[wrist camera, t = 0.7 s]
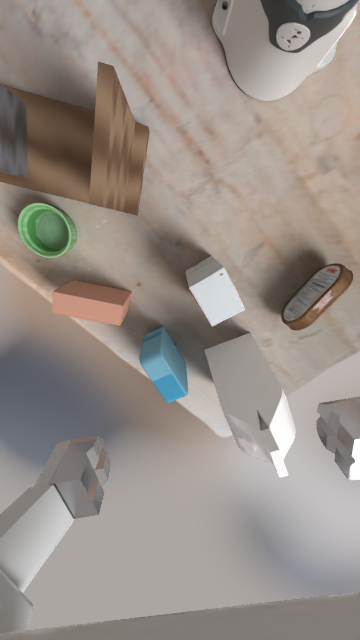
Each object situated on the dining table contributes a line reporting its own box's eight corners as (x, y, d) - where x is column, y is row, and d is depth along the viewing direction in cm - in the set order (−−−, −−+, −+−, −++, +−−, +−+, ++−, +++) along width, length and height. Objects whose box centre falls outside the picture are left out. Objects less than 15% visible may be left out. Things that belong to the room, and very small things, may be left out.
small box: (184, 270, 47) (187, 287, 35) (211, 254, 46) (224, 265, 34) (202, 302, 50) (211, 328, 38) (229, 288, 49) (246, 309, 37)
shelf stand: (-4, 87, 35) (-132, -10, 21) (149, 131, 38) (133, 72, 23) (2, 182, 40) (-98, 158, 25) (137, 215, 43) (118, 210, 28)
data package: (145, 332, 52) (137, 361, 41) (162, 324, 52) (159, 351, 41) (170, 370, 57) (168, 406, 46) (186, 363, 56) (189, 398, 45)
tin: (283, 321, 52) (302, 338, 44) (273, 314, 51) (290, 330, 43) (334, 266, 47) (366, 275, 40) (324, 257, 47) (354, 264, 39)
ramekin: (83, 255, 45) (74, 258, 41) (37, 254, 45) (24, 257, 41) (76, 205, 42) (65, 203, 38) (26, 204, 42) (10, 202, 38)
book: (74, 279, 47) (52, 291, 39) (131, 291, 49) (122, 305, 40) (73, 297, 49) (52, 312, 41) (129, 309, 50) (120, 325, 42)
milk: (263, 372, 57) (327, 478, 33) (220, 386, 59) (251, 498, 35) (250, 332, 53) (313, 422, 29) (204, 349, 54) (227, 448, 30)
